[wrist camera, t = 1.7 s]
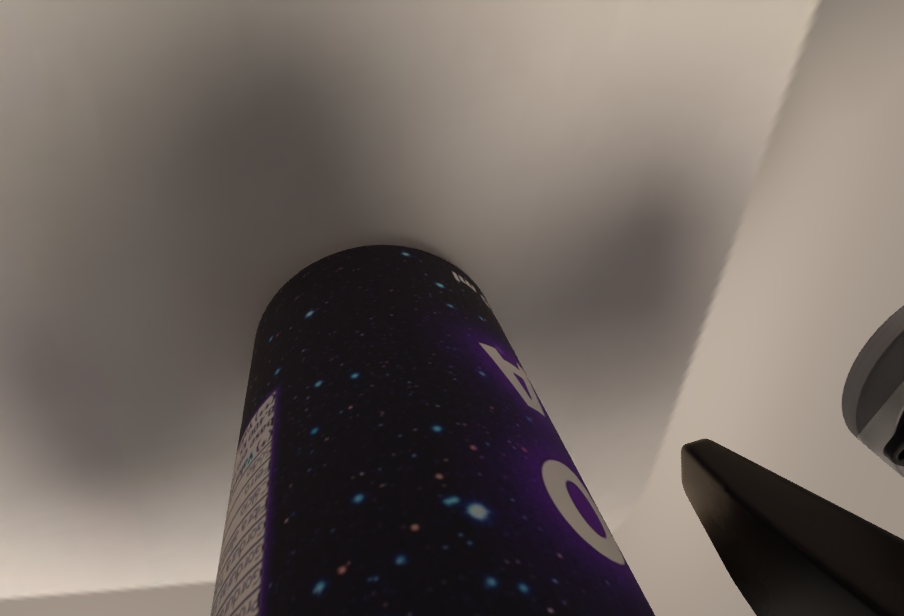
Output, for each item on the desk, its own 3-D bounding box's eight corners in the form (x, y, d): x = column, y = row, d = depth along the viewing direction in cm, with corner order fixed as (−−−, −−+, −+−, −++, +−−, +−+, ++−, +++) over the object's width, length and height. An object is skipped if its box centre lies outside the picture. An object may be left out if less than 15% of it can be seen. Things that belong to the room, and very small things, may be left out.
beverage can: (399, 457, 17) (530, 1189, 7) (210, 368, 15) (-34, 1306, 4) (531, 307, 16) (955, 952, 5) (346, 180, 13) (469, 924, 3)
